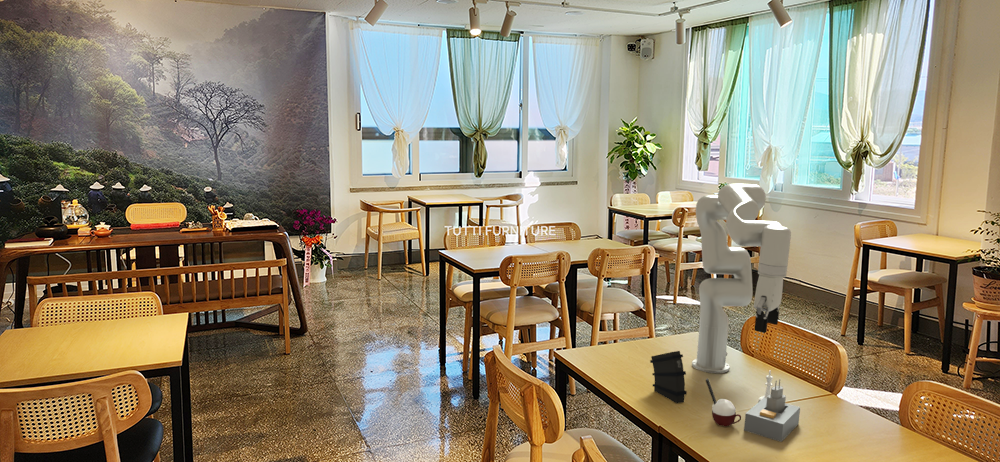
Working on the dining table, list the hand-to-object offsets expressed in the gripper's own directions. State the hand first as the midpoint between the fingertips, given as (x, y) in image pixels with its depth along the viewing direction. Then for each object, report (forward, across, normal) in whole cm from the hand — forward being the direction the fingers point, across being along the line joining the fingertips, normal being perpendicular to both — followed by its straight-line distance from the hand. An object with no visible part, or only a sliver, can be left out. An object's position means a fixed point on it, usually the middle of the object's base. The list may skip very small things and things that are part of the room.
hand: (766, 327), depth 192 cm
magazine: (+27, +7, -25) cm, 37 cm away
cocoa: (+26, +15, -5) cm, 30 cm away
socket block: (+26, +8, +7) cm, 28 cm away
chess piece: (+26, -10, 0) cm, 28 cm away
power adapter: (+25, +5, +6) cm, 26 cm away
